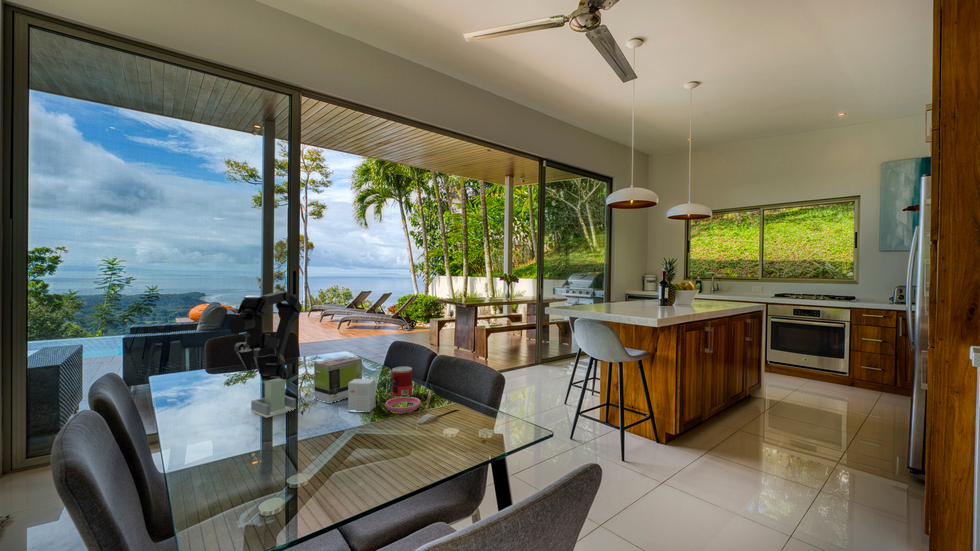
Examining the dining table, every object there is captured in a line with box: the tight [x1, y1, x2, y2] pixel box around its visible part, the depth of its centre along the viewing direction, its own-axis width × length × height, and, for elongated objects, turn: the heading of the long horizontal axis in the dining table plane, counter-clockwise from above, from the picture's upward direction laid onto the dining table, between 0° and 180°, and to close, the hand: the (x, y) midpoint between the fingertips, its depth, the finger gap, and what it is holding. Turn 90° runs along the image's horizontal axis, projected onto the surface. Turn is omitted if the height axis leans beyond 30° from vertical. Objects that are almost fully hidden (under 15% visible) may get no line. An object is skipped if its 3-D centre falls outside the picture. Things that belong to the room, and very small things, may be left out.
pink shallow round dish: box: [384, 396, 422, 413], centre depth 153 cm, size 12×12×3 cm
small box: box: [347, 378, 376, 412], centre depth 151 cm, size 8×6×10 cm
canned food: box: [391, 366, 413, 397], centre depth 168 cm, size 8×8×11 cm
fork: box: [418, 413, 434, 424], centre depth 146 cm, size 3×21×3 cm, turn 143°
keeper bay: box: [250, 395, 297, 418], centre depth 150 cm, size 10×10×4 cm
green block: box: [264, 378, 286, 412], centre depth 150 cm, size 4×5×10 cm
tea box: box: [313, 355, 363, 404], centre depth 166 cm, size 15×10×15 cm
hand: (254, 372), depth 156 cm, fingers open, 9 cm apart
